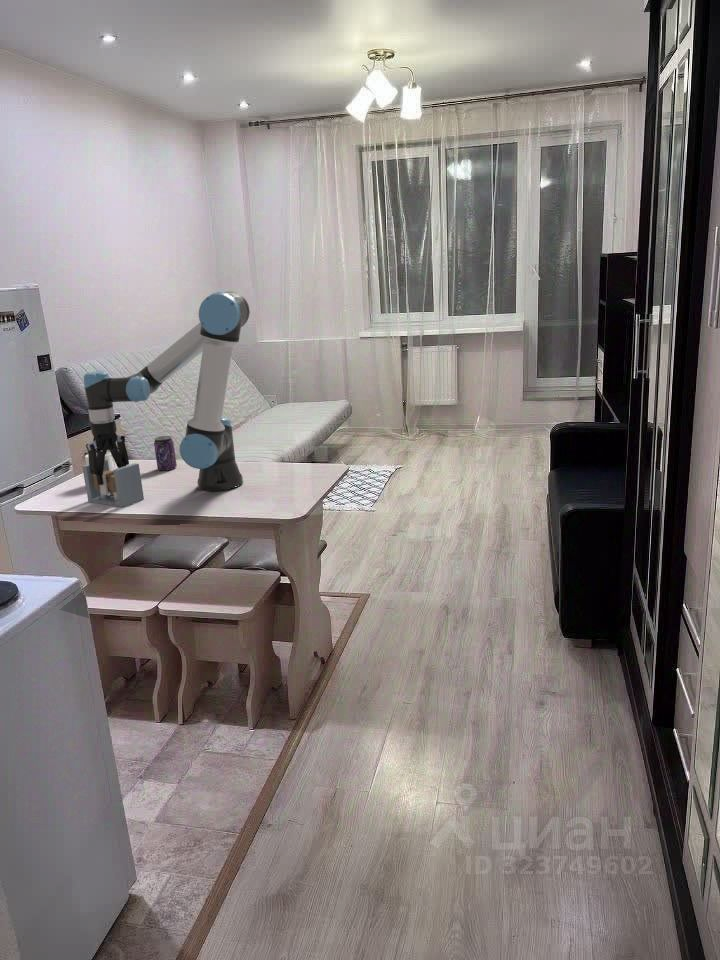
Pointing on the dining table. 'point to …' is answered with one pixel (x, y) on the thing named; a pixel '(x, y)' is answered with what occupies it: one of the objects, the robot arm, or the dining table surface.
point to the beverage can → (165, 453)
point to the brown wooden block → (109, 479)
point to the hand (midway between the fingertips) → (113, 490)
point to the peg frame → (117, 486)
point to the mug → (107, 457)
